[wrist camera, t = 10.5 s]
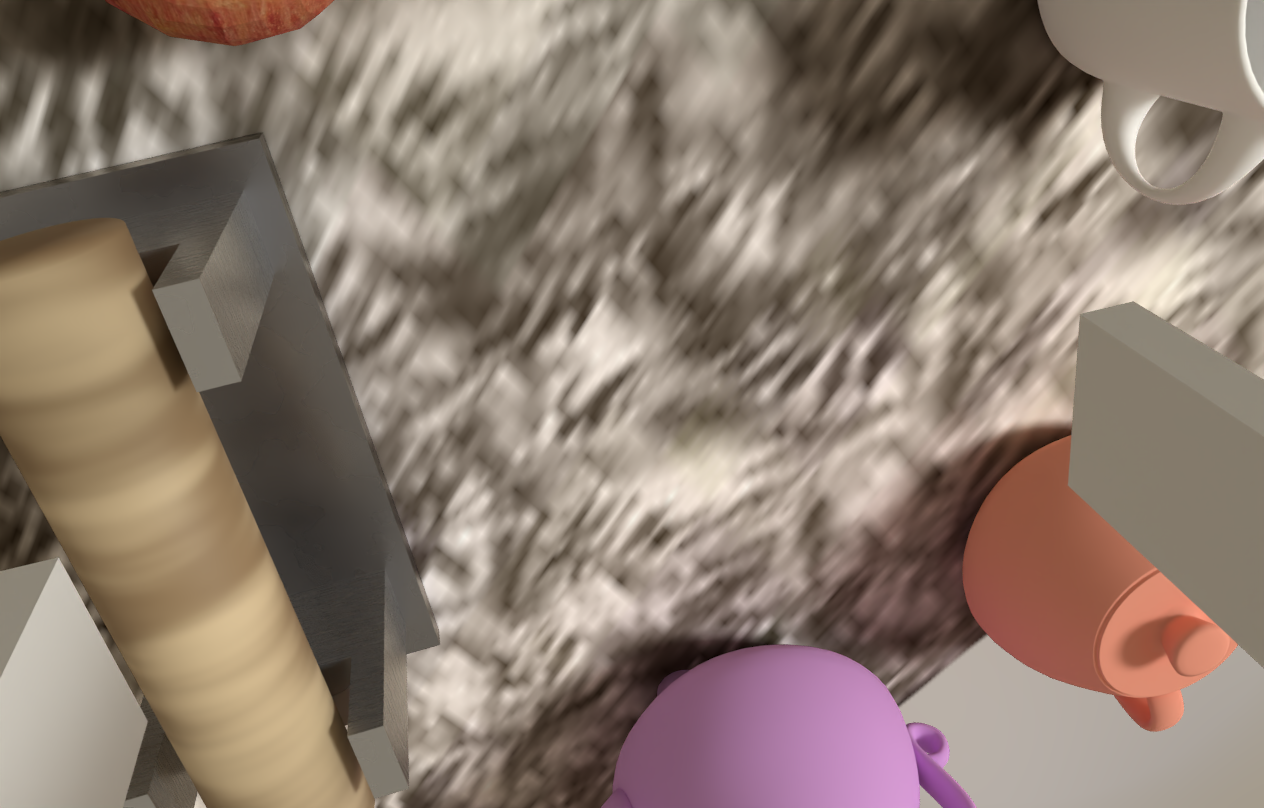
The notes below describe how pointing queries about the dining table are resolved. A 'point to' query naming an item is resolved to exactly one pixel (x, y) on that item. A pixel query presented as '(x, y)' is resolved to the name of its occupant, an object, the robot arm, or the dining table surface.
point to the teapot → (780, 739)
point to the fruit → (223, 17)
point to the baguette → (161, 523)
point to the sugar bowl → (1083, 595)
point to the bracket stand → (268, 426)
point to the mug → (1171, 76)
